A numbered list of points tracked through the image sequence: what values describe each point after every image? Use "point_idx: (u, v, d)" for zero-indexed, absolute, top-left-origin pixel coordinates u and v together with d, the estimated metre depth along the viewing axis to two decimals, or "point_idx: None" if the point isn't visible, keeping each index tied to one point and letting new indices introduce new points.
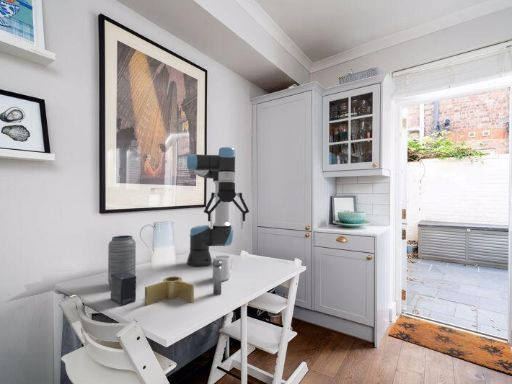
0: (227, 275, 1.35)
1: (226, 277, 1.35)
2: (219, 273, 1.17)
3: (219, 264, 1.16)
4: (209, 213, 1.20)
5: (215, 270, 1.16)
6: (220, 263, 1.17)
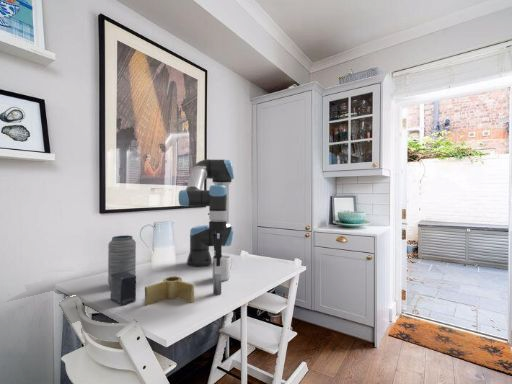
0: (227, 275, 1.35)
1: (226, 277, 1.35)
2: None
3: None
4: (214, 250, 1.25)
5: None
6: None
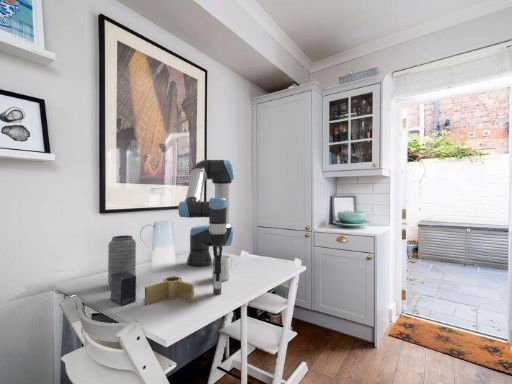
0: (227, 275, 1.35)
1: (226, 277, 1.35)
2: None
3: None
4: None
5: None
6: None
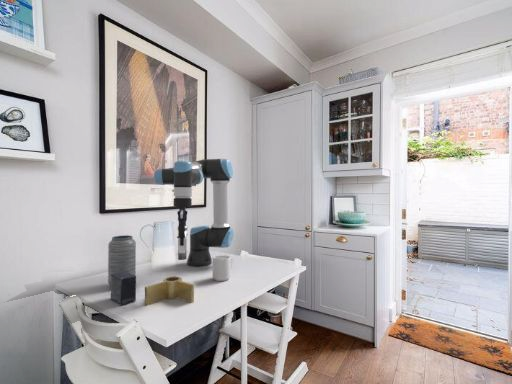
0: (227, 275, 1.35)
1: (226, 277, 1.35)
2: None
3: None
4: None
5: None
6: (185, 228, 1.15)
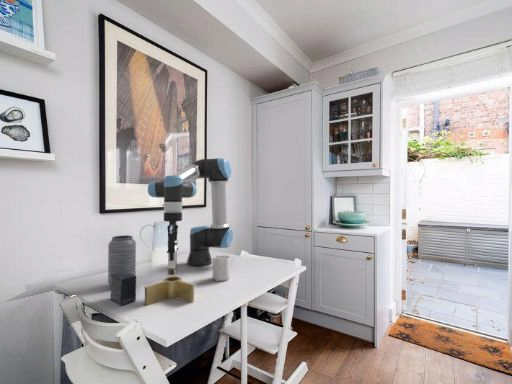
0: (227, 275, 1.35)
1: (226, 277, 1.35)
2: None
3: None
4: None
5: None
6: (175, 242, 1.14)
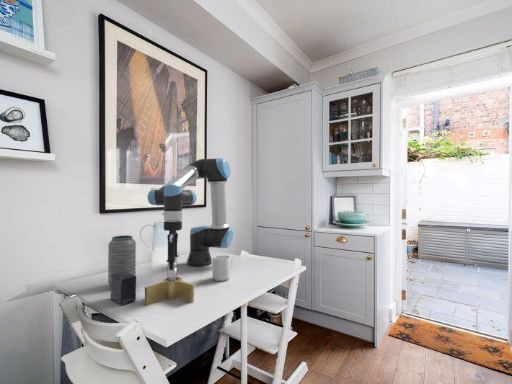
0: (227, 275, 1.35)
1: (226, 277, 1.35)
2: None
3: None
4: None
5: None
6: (175, 265, 1.13)
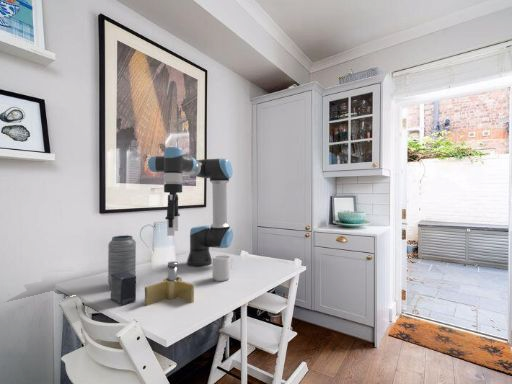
0: (227, 275, 1.35)
1: (226, 277, 1.35)
2: (174, 275, 1.14)
3: (174, 265, 1.14)
4: None
5: (169, 271, 1.14)
6: (175, 264, 1.14)
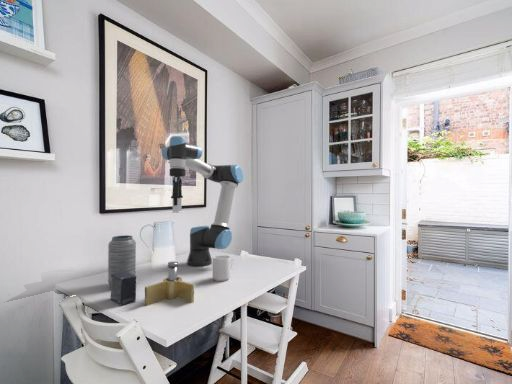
0: (227, 275, 1.35)
1: (226, 277, 1.35)
2: (174, 274, 1.14)
3: (174, 265, 1.14)
4: None
5: (170, 271, 1.14)
6: (175, 264, 1.14)
